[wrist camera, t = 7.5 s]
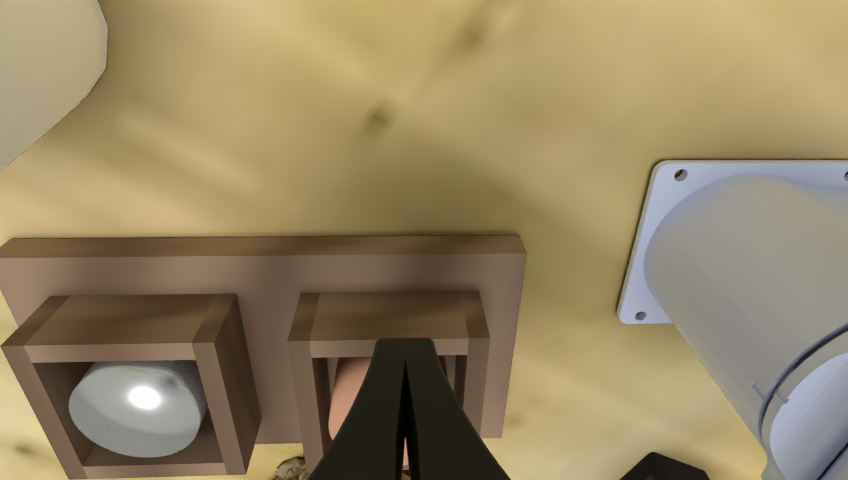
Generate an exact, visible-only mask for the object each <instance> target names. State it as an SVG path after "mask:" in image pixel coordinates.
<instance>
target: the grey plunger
mask: <svg viewBox="0 0 848 480" xmlns="http://www.w3.org/2000/svg"><path fill="white" fill-rule="evenodd" d="M207 408H208V403H207V399H206V396H205V392H204V388H203V385H202V381H201V377H200V373H199V370H198V366H197V362H196V360H154V361H98V362H94V363H93V364H92V366H91V367H90V368H89V370H88V371H87V373H86V374H85V375H84V377H83V378H82V379H81V381H80V382H79V384H78V385H77V386H76V388H75V389H74V390H73V392H72V394H71V396H70V400H69V412H70V415H71V418H72V420H73V422H74V423H75V425H76V426H77V428H78V429H79V430H80V431H81V432H82V433H83V434H84V435H85V436H86V437H88V438H89V439H90V440H92V441H93V442H95V443H96V444H98V445H100V446H102V447H104V448H106V449H108V450H111V451H113V452H116V453H120V454H123V455H128V456H134V457H148V458H151V457H161V456H166V455H170V454H173V453H176V452H178V451H180V450H182V449H184V448H185V447H187V446H188V445H189V444H190V443H191V442H192V441H193V440H194V438H195V437H196V434H197V432H198V430H199V427H200V425H201V422H202V420H203V417H204V415H205V413H206V410H207Z"/></svg>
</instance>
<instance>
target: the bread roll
mask: <svg viewBox="0 0 848 480" xmlns="http://www.w3.org/2000/svg"><path fill="white" fill-rule="evenodd" d="M275 473H276V474H277V475H278V477H277V478H276V479H275V480H307V479H308V478H309V476H310V475H311V473H307V470H306V464H305V459H298V458H296V457H295V458H293V459H291V460H289V461H287V462H285V463H283V464H282V465H281V466H280V468H279V469H278V470H277V471H276V472H275ZM402 480H410V477H409V476H408V475H406V474H404V472H402Z"/></svg>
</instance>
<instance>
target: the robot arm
mask: <svg viewBox="0 0 848 480" xmlns="http://www.w3.org/2000/svg"><path fill="white" fill-rule="evenodd" d="M681 169H683V172H682V174H681V175H680V176H678V177H675V178H674V175H675V173H676V172H677V171H678V170H681ZM847 172H848V160H666V161H662V162H660V163H658V164H657V165H656V166H655V167H654V170H653V172H652V175H651V179H650V183H649V187H648V191H647V195H646V199H645V203H644V207H643V211H642V215H641V218H640V222H639V226H638V230H637V234H636V238H635V242H634V246H633V250H632V254H631V258H630V262H629V265H628V269H627V273H626V277H625V281H624V285H623V289H622V293H621V297H620V301H619V305H618V309H617V316H618V318H619V320H620V321H621V322H622V323H624V324H662V323H673V324H674V326H675V327H676V329H677V330H678V331H679V333H680V334H681V335H682V337H683V338H684V340H685V341H686V342H687V344H688V345H689V346H690V348H691V349H692V351H693V352H694V353H695V355H696V356H697V358H698V359H699V360H700V362H701V363H702V364H703V366H704V367H705V369H706V370H707V371H708V373H709V374H710V375H711V377H712V378H713V380H714V381H715V382H716V384H717V385H718V386H719V388H720V389H721V391H722V392H723V393H724V395H725V396H726V397H727V399H728V400H729V402H730V403H731V404H732V406H733V407H734V408H735V410H736V411H737V413H738V414H739V415H740V417H741V418H742V420H743V421H744V422H745V424H746V425H747V426H748V428H749V429H750V431H751V432H752V433H753V435H754V436H755V437H756V439H757V440H758V442H759V443H760V444H761V446H762V447H763V448H764V450H765V451H766V454H767V464H766V467H765V469H764V471H763V472H762V474H761V478H762V479H763V480H848V175H846V176H845V174H846V173H847ZM844 176H845V177H844ZM638 312H642V313H641V314H639V315H636V314H637V313H638ZM405 438H406V447H407V456H408V465H409V474H410V480H511V479H510V478H509V477H508V475H507V474H506V473H505V471H504V470H503V469H502V468H501V466H500V465H499V464H498V462H497V461H496V459H495V458H494V457H493V455H492V454H491V453H490V451H489V450H488V448H487V447H486V445H485V444H484V442H483V441H482V439H481V438H480V436H479V435H478V433H477V432H476V430H475V428H474V427H473V425H472V424H471V422H470V420H469V419H468V417H467V415H466V414H465V412H464V410H463V408H462V407H461V405H460V403H459V401H458V399H457V397H456V395H455V393H454V391H453V389H452V387H451V385H450V383H449V381H448V379H447V377H446V375H445V372H444V370H443V368H442V366H441V363H440V360H439V358H438V355H437V352H436V349H435V345H434V341H433V340H432V339H430V338H380V339H379V340H378V341H376V343H375V349H374V352H373V356H372V359H371V362H370V365H369V368H368V370H367V373H366V376H365V378H364V381H363V383H362V385H361V387H360V389H359V392H358V394H357V396H356V398H355V400H354V403H353V405H352V407H351V409H350V410H349V412H348V414H347V416H346V418H345V420H344V422H343V423H342V425H341V427H340V429H339V431H338V433H337V434H336V436H335V438H334V439H333V441H332V443H331V444H330V446H329V448H328V449H327V451H326V452H325V454H324V456H323V457H322V459H321V460H320V462H319V463H318V465H317V466H316V468H315V469H314V471H313V472H312V473H311V475H310V476H309V478H308V479H307V480H402V472H403V460H404V447H405Z"/></svg>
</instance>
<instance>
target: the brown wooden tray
mask: <svg viewBox="0 0 848 480" xmlns="http://www.w3.org/2000/svg"><path fill="white" fill-rule="evenodd" d="M526 255H527V253H526V251H525V248H524V246H523V244H522V241H521V239H520V236H519V235H482V236H341V237H200V238H59V239H10V240H9V241H7V242H6V243H5V244H3V245H2V246H1V247H0V290H1V292H2V294H3V296H4V298H5V300H6V302H7V304H8V306H9V308H10V310H11V313H12V315H13V317H14V319H15V321H16V323H17V325H18V327H19V328H18V329H17V330H16V331H15V332H14V333H13V334H12V335H11V336H10V337H9V338H8V339H7V340H6V341H5V342H4V343H3V344H2V345H1V346H0V347H1V349H2V351H3V353H4V355H5V356H6V358H7V360H8V362H9V364H10V366H11V368H12V370H13V372H14V374H15V376H16V378H17V380H18V382H19V384H20V386H21V388H22V389H23V391H24V393H25V395H26V397H27V399H28V401H29V403H30V405H31V407H32V409H33V411H34V413H35V415H36V417H37V419H38V421H39V423H40V424H41V426H42V428H43V430H44V432H45V434H46V436H47V438H48V440H49V442H50V444H51V446H52V448H53V450H54V452H55V454H56V456H57V457H58V459H59V461H60V463H61V465H62V467H63V469H64V471H65V473H66V475H67V477H68V479H104V478H139V477H174V476H209V475H245V474H246V473H247V469H248V466H249V462H250V459H251V455H252V452H253V448H254V445H255V444H281V443H302V444H303V450H304V457H305V464H306V470H307V473H312V472H313V471H314V469H315V468H316V466H317V465H318V463H319V462H320V460H321V459H322V457H323V456H324V454H325V452H326V451H327V449H328V448H329V446H330V444H331V443H332V441H333V440H332V438H331V436H330V433H329V416H330V409H331V402H332V395H333V388H334V381H335V374H336V367H337V361H338V359H339V357H372V356H373V352H374V349H375V343H376V341H378V340H379V339H380V338H430V339H432V340H433V341H434V345H435V349H436V352H437V355H443V356H444V358H445V362H446V368H447V377H448V381H449V383H450V385H451V387H452V389H453V391H454V393H455V395H456V397H457V399H458V401H459V403H460V405H461V407H462V408H463V410H464V412H465V414H466V415H467V417H468V419H469V420H470V422H471V424H472V425H473V427H474V428H475V430H476V432H477V433H478V435H479V436H480V438H502V431H503V423H504V416H505V409H506V401H507V394H508V387H509V379H510V372H511V365H512V357H513V350H514V343H515V335H516V328H517V321H518V313H519V306H520V299H521V291H522V284H523V277H524V269H525V262H526ZM154 360H196V362H197V366H198V370H199V373H200V377H201V381H202V385H203V388H204V392H205V396H206V399H207V403H208V408H207V410H206V413H205V415H204V417H203V420H202V422H201V425H200V427H199V430H198V432H197V434H196V437H195V438H194V440H193V441H192V442H191V443H190V444H189V445H188V446H187V447H185V448H184V449H182V450H180V451H178V452H176V453H173V454H170V455H166V456H161V457H151V458H148V457H134V456H128V455H123V454H120V453H116V452H113V451H111V450H108V449H106V448H104V447H102V446H100V445H98V444H96V443H95V442H93V441H92V440H90V439H89V438H88V437H86V436H85V435H84V434H83V433H82V432H81V431H80V430H79V429H78V428H77V426H76V425H75V423H74V422H73V420H72V418H71V415H70V412H69V400H70V396H71V394H72V392H73V390H74V389H75V388H76V386H77V385H78V384H79V382H80V381H81V379H82V378H83V377H84V375H85V374H86V373H87V371H88V370H89V368H90V367H91V366H92V364H93V363H94V362H98V361H154ZM403 470H409V465H404V466H403Z"/></svg>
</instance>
